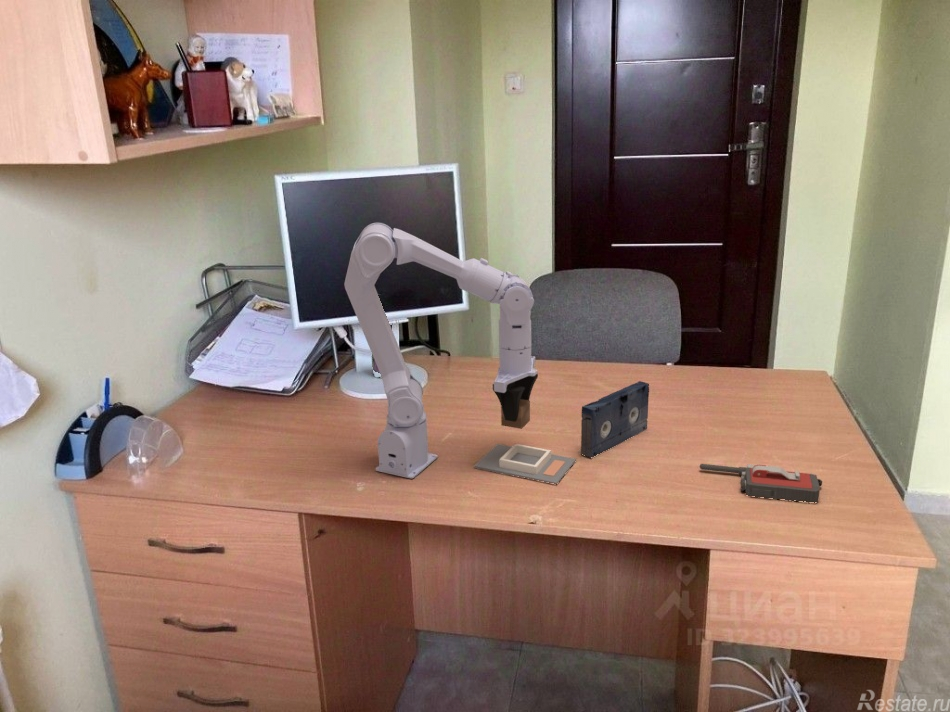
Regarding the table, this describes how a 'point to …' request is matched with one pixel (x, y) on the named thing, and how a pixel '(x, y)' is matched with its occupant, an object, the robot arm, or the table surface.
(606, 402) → the vhs cassette tape
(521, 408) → the walnut block
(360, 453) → the table surface
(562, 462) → the pocket board
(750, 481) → the walkie-talkie
